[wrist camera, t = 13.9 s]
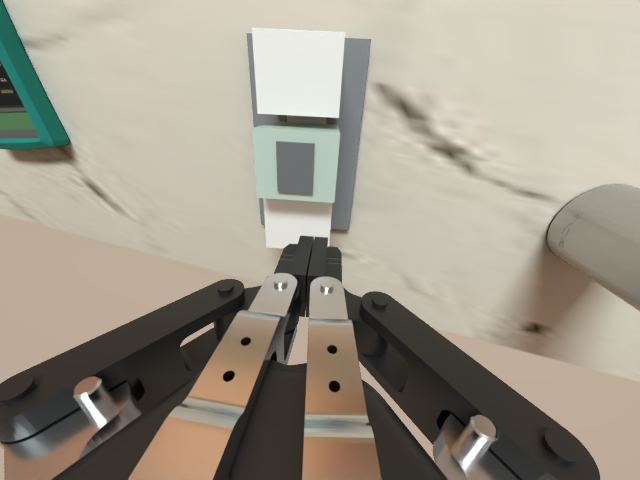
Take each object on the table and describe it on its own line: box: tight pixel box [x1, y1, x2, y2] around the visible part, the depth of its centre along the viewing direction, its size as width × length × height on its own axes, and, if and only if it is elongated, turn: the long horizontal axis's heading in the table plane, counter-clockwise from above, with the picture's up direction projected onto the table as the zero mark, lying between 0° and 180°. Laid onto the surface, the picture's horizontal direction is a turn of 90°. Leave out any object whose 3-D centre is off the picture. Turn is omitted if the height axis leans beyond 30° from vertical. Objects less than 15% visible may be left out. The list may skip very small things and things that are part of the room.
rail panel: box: [247, 28, 371, 248], centre depth 21 cm, size 10×17×8 cm, turn 177°
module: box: [252, 121, 340, 203], centre depth 20 cm, size 6×4×8 cm
